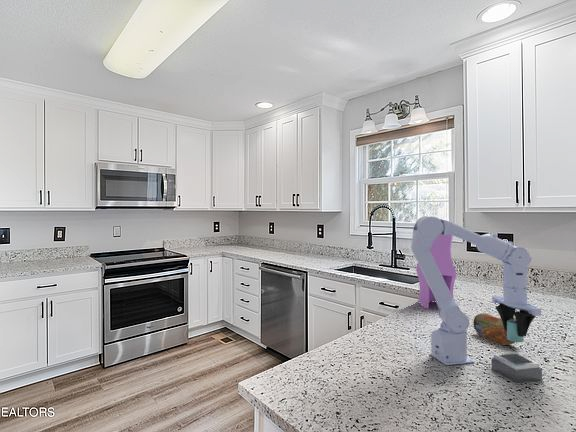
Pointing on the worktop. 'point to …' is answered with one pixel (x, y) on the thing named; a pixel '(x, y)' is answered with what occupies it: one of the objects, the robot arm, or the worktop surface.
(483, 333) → the tin
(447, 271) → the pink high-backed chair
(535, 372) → the grey flat square block
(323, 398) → the worktop surface
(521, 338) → the teal capped cylinder
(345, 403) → the worktop surface
